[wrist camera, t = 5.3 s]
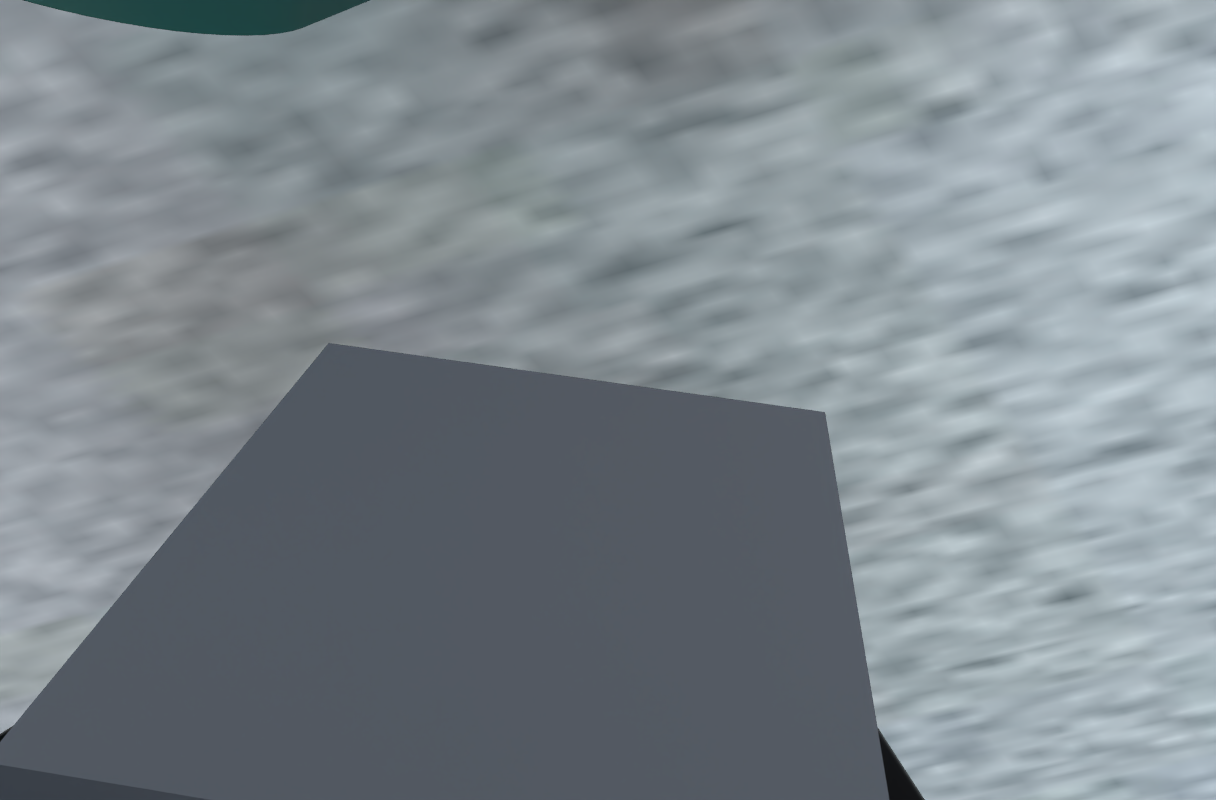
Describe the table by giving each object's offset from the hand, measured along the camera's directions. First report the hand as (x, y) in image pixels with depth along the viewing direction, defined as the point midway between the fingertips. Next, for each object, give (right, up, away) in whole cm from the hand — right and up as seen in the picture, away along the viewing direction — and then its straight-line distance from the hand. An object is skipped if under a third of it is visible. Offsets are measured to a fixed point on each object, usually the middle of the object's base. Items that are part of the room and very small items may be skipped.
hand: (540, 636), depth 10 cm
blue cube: (0, +1, +1) cm, 1 cm away
